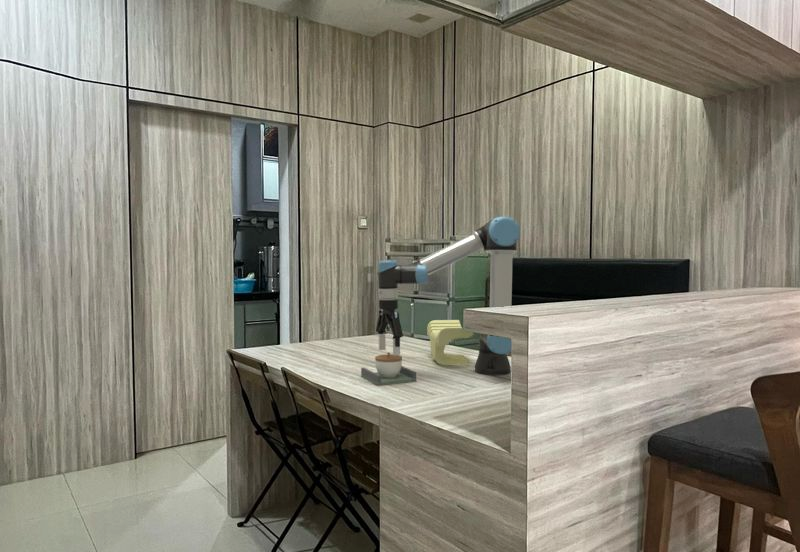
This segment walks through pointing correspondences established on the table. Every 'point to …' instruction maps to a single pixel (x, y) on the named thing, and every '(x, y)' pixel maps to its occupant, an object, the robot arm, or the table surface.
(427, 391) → the table surface
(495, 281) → the robot arm
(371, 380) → the tray
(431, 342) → the slatted curved stool
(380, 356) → the lidded jar
